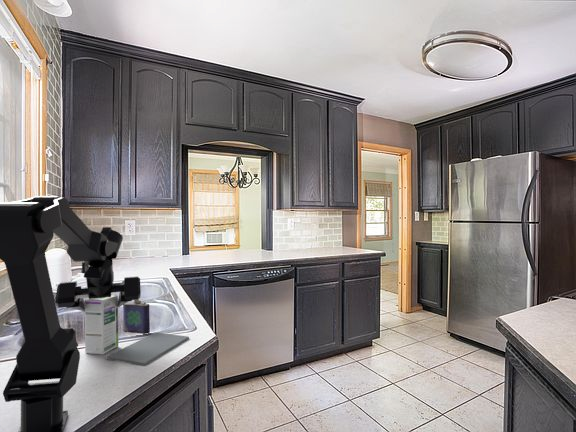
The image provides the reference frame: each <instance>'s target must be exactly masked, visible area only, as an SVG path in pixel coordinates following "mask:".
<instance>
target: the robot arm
mask: <svg viewBox="0 0 576 432" xmlns="http://www.w3.org/2000/svg"><path fill="white" fill-rule="evenodd" d="M54 235H56V236H57V237H58V238H59V239H60V240H61V241H62V242H64V243H65V244H66V245H67V249H66V254H67V255H68V257H69V258H70V259H71V260H72V261H74V262H76V263H77V262H78V263H79V262H81V274H84V275H83V278H85V279H86V287H85V288H82V286H78V281H64V282H63V281H62V282H60V283H58V284H57V286H56V295H55V296H54V290H53V286H52V282H51V281H52V280H51V277H50V272H49V267H48V261H47V259H46V251H47V250H48V247H50V246H49V245H50V243H52V240H53V239H54ZM123 239H124V237H123V235H122V234H121V233H119V231H116V230H114V229H112V227H110V226H109V227H108V226H106V227H105V226H104V227H101V230H100V231H99V232H98V231H93V230H91V229H90V228H89V227H88V226H87V225H86V224H85V223H84V222H83V220H82V219H81V218H80V217H79V215H77V214H76V213H75V211H73V210H72V208H71V207H70V204H69V201H68V199H67V198H65V197H62V196H60V195H59V196H58V195H36V196H33V197H30V198H26V199H22V200H15V201H10V202H8V201H7V202H4V201H3V202H0V260H1V261H2V262H3V263H4V265H5V269H6V273H7V277H8V280H9V284H10V288H11V292H12V296H13V300H14V304H15V307H16V312H17V315H18V321H19V323H20V327H21V333H22V335H23V340H24V341H23V344H22V345H21V347H20V349H19V351H18V352H17V354H16V356H15V362H16V364H15V366H14V369H13V371H12V372H11V374H10V377H9V379H8V380H7V383H6V385H5V388H4V389H3V390H2V391H3V392H2V395H3V397H4V401H5V402H6V403H7V402H8V403H9V402H12V401H20V427H19V429H18V432H64V428H65V426H66V422H67V419H68V416H69V411H68V410H64V396H65V395H66V394H67V393H68V392H69V391H70V390H71V389H72V388H73V387H74V386H75V385H76V383H77V378H78V372H79V367H80V361H81V360H80V359H81V358H80V357H81V352H80V350H79V348H78V346H79V343H78V341H77V336H76V330H75V329H74V328H73V327H68V328H67V327H66V328H63V327H61V324H60V320H59V314H58V309H57V308H59V309H60V308H62V309H63V308H67V309H74V310H78V311H81V312H83V313H85V299H95V298H105V297H111V295H112V293H119V294H118V309H120V308H121V307H123V304H125V303H130V302H132V301H134V300H136V299H141V293H142V292H141V289H142V288H141V278H140V277H139V276H127V277H124V278H123V279H124V280H122V281H121V282H114V280H115V278H114V277H115V275H114V269H113V268H114V267H113V259H116V258H117V257H118V254H119V250H120V249H121V245H122V242H123ZM58 379H59V380H58ZM46 380H57V381H46ZM31 381H44V382H31ZM29 382H31V383H29Z"/></svg>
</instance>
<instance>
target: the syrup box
mask: <svg viewBox="0 0 576 432" xmlns="http://www.w3.org/2000/svg"><path fill="white" fill-rule="evenodd" d="M118 298H119V295H116V294H111V297H105V298H95V299H89V298H85V299H84V302H85V312H84V350H85V351H84V353H86V354H92V355H104V354H106V353H108V352H110V351H112V350H114V349H115V348H117V347H119V308H118Z"/></svg>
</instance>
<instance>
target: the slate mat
mask: <svg viewBox="0 0 576 432" xmlns="http://www.w3.org/2000/svg"><path fill="white" fill-rule="evenodd" d="M189 339H190V336H185V335H180V334H179V335H178V334H170V333H164V332H153V333H152V334H149V335H147V336H146V337H143V338H142V339H139V340H138V341H135V342H133V343H132V344H130V345H129V344H128V345H127V346H125V347H123V348H121V349H119V350H117V351H115V352H113V353H111V354H108V355H107V356H106V360H110V361H116V362H120V363H121V362H123V363H128V364H133V365H139V366H146V365H149V363H151V362H153V361H154V360H157V359H158V358H161V356H163V355H164V354H167V353H168V352H169V351H171V350H173V349H174V348H177V347H178V346H179V345H181V344H183V343H185V342H186V341H188V340H189Z"/></svg>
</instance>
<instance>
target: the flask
mask: <svg viewBox="0 0 576 432" xmlns="http://www.w3.org/2000/svg"><path fill="white" fill-rule="evenodd" d="M139 299H140V298H139ZM139 299H136V300H133V301H134V302H132V301H129V302H127V303H125V304H123V305H122V308H123V310H122V313H123V315H122V316H123V317H122V321H123V322H122V331H123V332H124V333H130V334H139V335H140V334H142V335H146V334H149V333H151V331H150V329H151V328H150V326H151V325H150V324H151V323H150V303H146V302H142V300H139Z"/></svg>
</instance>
